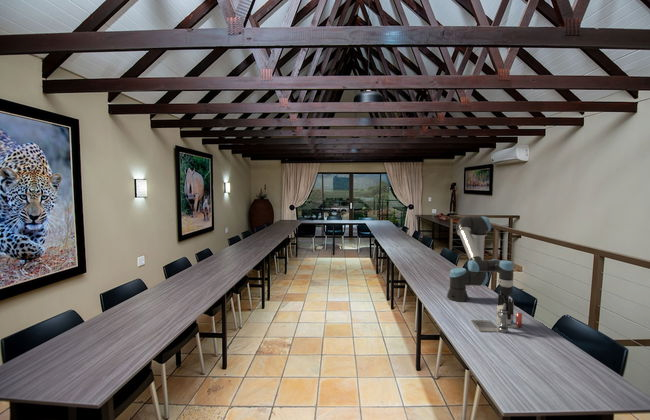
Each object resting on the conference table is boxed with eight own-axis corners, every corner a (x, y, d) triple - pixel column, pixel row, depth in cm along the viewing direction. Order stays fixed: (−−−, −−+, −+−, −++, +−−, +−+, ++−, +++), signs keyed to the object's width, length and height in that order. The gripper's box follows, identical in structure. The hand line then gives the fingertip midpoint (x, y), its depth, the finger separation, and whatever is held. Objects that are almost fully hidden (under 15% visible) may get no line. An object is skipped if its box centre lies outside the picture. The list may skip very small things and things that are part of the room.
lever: (505, 325, 178) (506, 312, 177) (519, 326, 178) (520, 312, 177) (508, 328, 175) (508, 314, 175) (522, 328, 175) (523, 314, 174)
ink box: (506, 321, 190) (507, 299, 188) (513, 325, 185) (514, 302, 184) (496, 323, 187) (496, 300, 186) (502, 326, 183) (503, 303, 182)
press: (470, 322, 189) (471, 303, 188) (497, 322, 188) (497, 303, 187) (481, 332, 175) (481, 312, 175) (509, 333, 174) (510, 312, 174)
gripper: (491, 280, 194) (491, 314, 196) (508, 290, 175) (507, 328, 177) (503, 280, 194) (502, 314, 195) (521, 290, 175) (520, 328, 176)
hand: (504, 321), depth 186 cm, fingers closed on ink box, 6 cm apart
